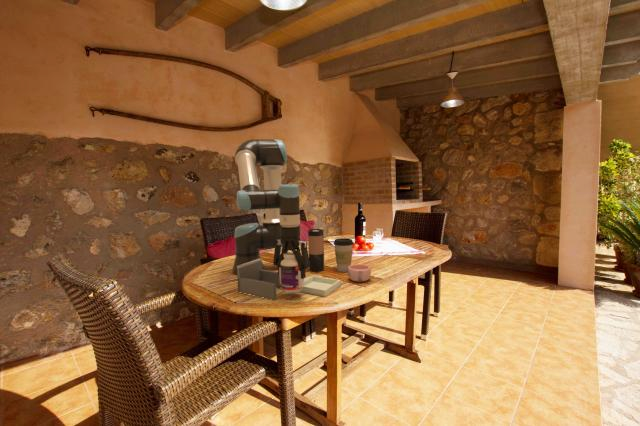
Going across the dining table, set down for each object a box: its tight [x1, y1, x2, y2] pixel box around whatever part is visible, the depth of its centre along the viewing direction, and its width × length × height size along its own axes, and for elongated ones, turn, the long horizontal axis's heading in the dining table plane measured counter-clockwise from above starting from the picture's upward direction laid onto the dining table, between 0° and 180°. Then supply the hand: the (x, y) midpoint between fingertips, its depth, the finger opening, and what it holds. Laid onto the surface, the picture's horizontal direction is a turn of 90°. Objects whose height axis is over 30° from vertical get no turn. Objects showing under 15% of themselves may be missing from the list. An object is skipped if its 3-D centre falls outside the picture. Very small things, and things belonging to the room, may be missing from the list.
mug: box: [347, 263, 372, 283], centre depth 134 cm, size 12×10×6 cm
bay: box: [236, 258, 281, 301], centre depth 121 cm, size 18×13×11 cm
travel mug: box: [307, 228, 325, 273], centre depth 148 cm, size 8×8×20 cm
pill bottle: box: [280, 251, 302, 294], centre depth 114 cm, size 8×8×14 cm
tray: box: [299, 275, 342, 298], centre depth 123 cm, size 14×14×2 cm
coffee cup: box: [333, 237, 354, 273], centre depth 148 cm, size 10×10×15 cm
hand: (291, 284), depth 115 cm, fingers closed on pill bottle, 8 cm apart
